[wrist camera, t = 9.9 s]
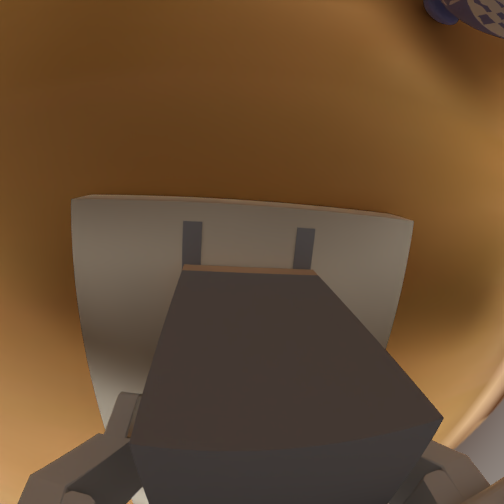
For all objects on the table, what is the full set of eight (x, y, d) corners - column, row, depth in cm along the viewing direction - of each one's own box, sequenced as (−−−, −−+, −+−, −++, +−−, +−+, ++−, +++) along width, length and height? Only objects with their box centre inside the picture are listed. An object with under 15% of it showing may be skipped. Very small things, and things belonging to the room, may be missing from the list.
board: (91, 194, 9) (70, 199, 7) (390, 214, 10) (414, 221, 9) (155, 528, 14) (153, 544, 13) (294, 527, 15) (298, 543, 14)
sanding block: (184, 264, 8) (129, 443, 2) (312, 269, 9) (443, 417, 3) (189, 442, 10) (186, 584, 4) (282, 441, 10) (317, 575, 4)
